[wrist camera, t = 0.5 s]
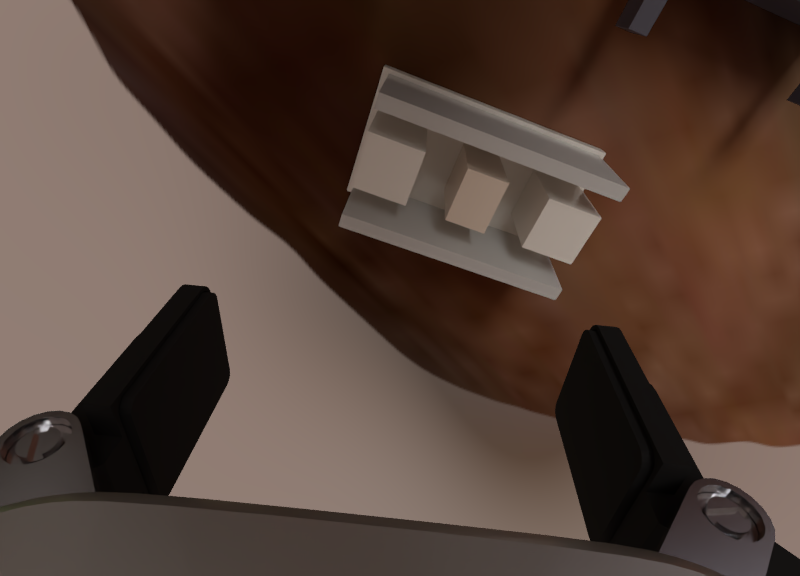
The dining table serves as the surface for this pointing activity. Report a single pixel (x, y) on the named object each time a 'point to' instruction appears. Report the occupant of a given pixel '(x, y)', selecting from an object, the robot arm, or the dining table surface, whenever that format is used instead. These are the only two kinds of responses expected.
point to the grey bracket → (645, 3)
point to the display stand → (474, 184)
